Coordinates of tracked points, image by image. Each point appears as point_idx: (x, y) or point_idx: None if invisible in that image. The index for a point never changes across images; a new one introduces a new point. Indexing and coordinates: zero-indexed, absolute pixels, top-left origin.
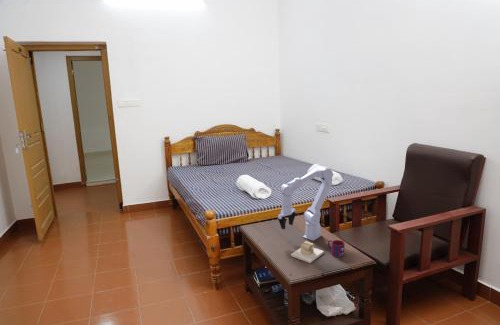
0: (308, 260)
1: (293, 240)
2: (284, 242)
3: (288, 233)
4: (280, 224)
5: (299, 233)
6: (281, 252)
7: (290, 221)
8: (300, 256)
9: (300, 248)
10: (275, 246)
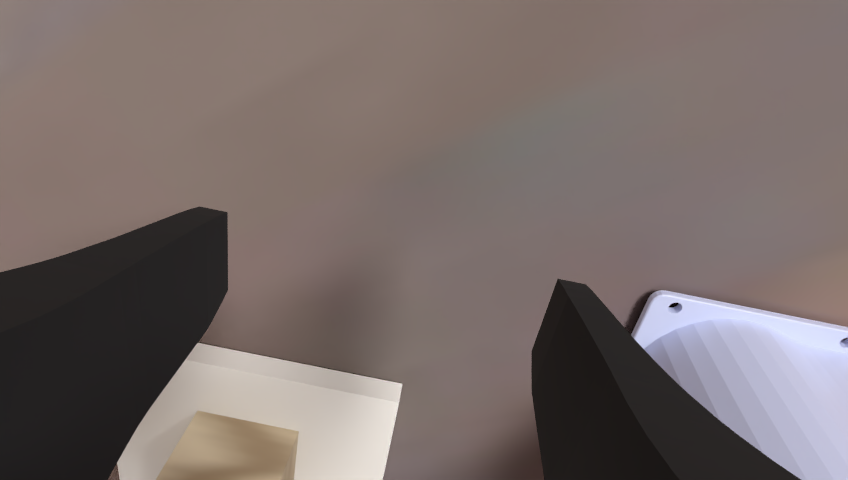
0: None
1: (501, 212)
2: (373, 118)
3: (750, 27)
4: (94, 254)
5: (794, 204)
6: (100, 204)
7: (559, 382)
8: None
9: (280, 386)
10: (175, 49)
